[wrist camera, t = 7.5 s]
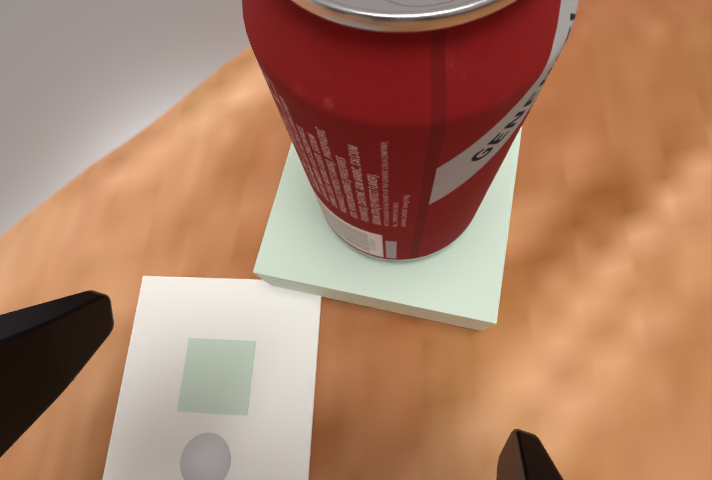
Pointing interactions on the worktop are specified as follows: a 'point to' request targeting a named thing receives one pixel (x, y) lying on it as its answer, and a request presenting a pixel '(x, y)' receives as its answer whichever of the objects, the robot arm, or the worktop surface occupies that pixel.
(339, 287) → the base brick
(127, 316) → the worktop surface
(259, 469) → the page
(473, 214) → the soda can
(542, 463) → the robot arm
